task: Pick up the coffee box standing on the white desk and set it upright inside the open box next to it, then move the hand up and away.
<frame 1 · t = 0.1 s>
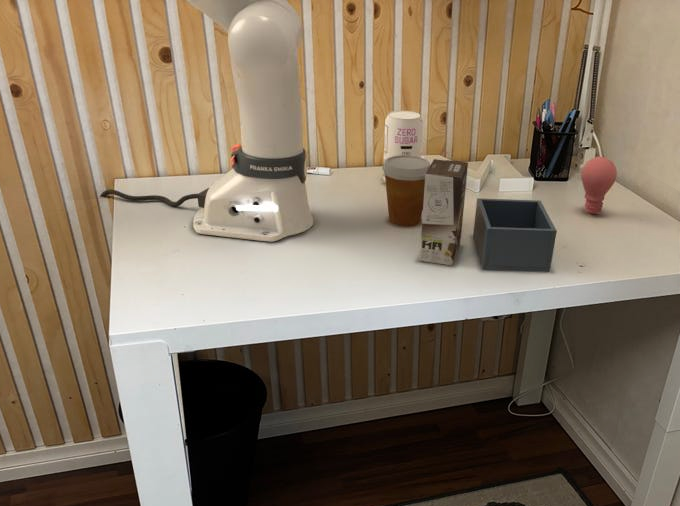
open box: (509, 253, 136), on the table
supplement can: (401, 183, 166), on the table
light bulb: (591, 214, 156), on the table
disposable coffee cup: (404, 222, 146), on the table
coffee box: (440, 254, 134), on the table
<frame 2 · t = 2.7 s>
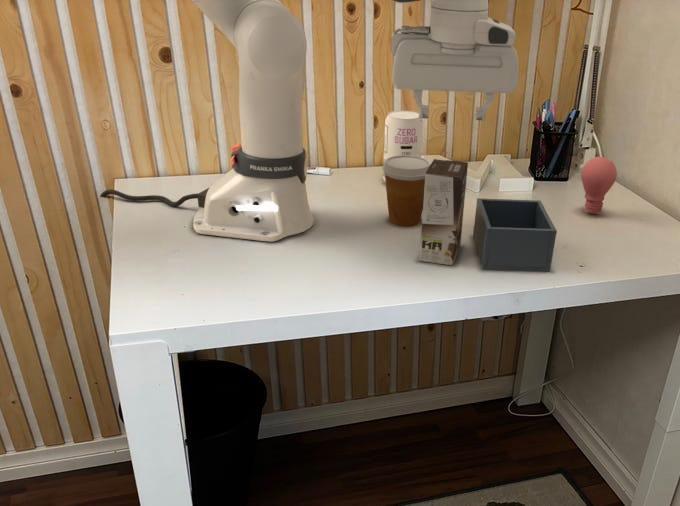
hand: (451, 118, 121), 24 cm above the table, tool pointing down, fingers open, 8 cm apart
nothing on the table moved.
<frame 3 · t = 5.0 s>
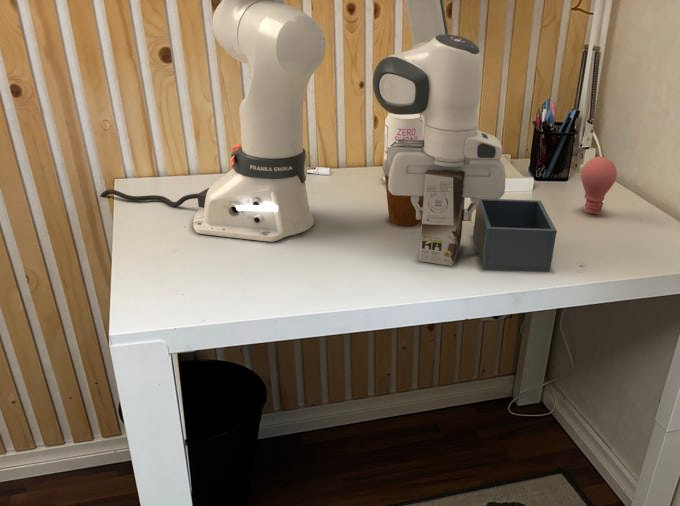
hand: (443, 219, 130), 7 cm above the table, tool pointing down, fingers closed on coffee box, 7 cm apart
coffee box: (440, 255, 134), on the table, touching gripper
everything else where it was.
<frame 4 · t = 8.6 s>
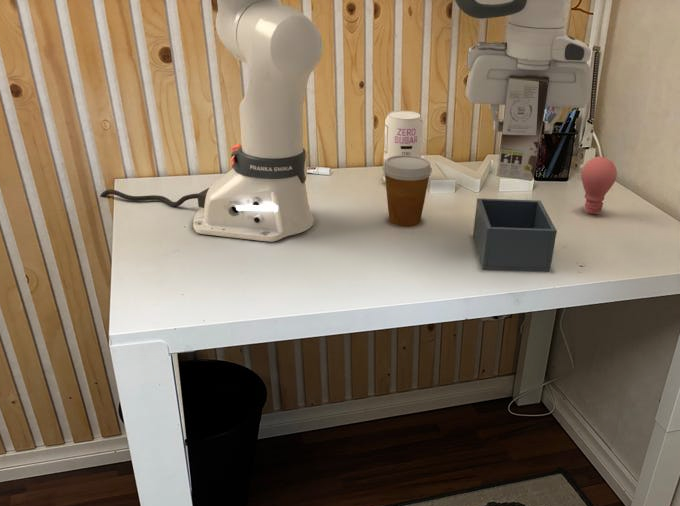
hand: (522, 132, 124), 22 cm above the table, tool pointing down, fingers closed on coffee box, 7 cm apart
coffee box: (516, 172, 127), point 15 cm above the table, touching gripper
everything else where it was.
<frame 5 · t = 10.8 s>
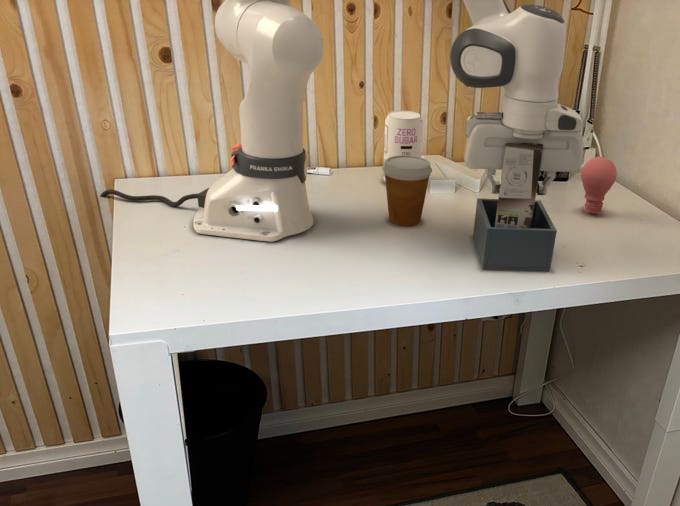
hand: (518, 193, 130), 11 cm above the table, tool pointing down, fingers closed on coffee box, 7 cm apart
coffee box: (512, 230, 134), point 5 cm above the table, touching gripper
everything else where it was.
when the fingers open (8 cm above the table, at t = 12.8 s): coffee box stays where it is, resting on open box.
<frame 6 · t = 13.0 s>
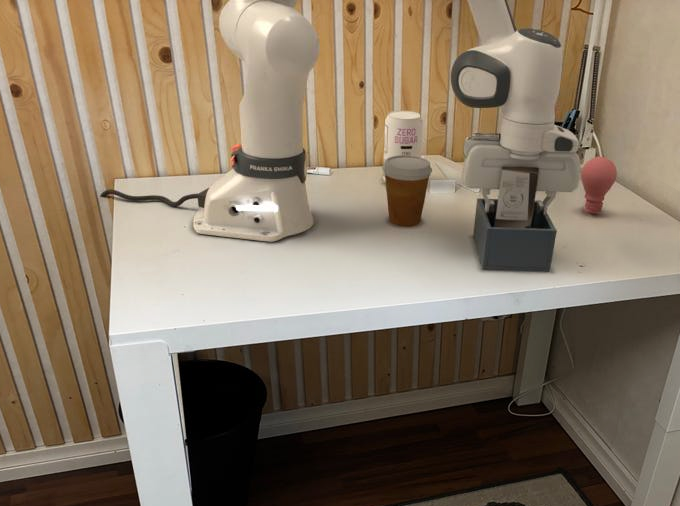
hand: (515, 212, 131), 8 cm above the table, tool pointing down, fingers open, 8 cm apart
coffee box: (509, 250, 136), point 1 cm above the table, touching open box
everything else where it was.
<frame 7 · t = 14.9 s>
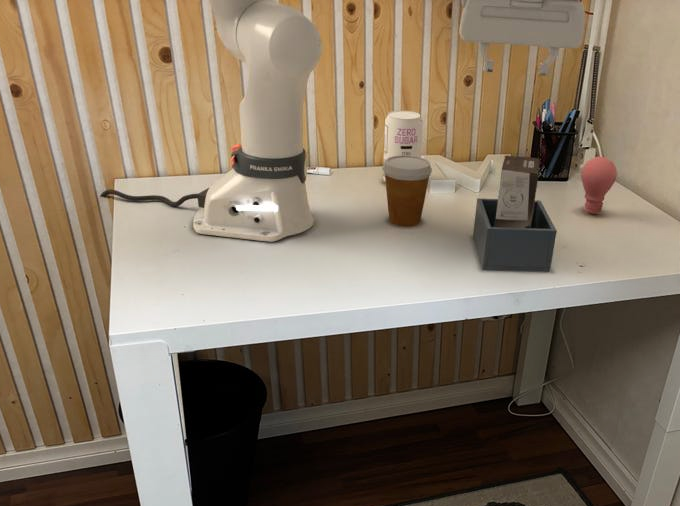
hand: (515, 73, 124), 31 cm above the table, tool pointing down, fingers open, 8 cm apart
nothing on the table moved.
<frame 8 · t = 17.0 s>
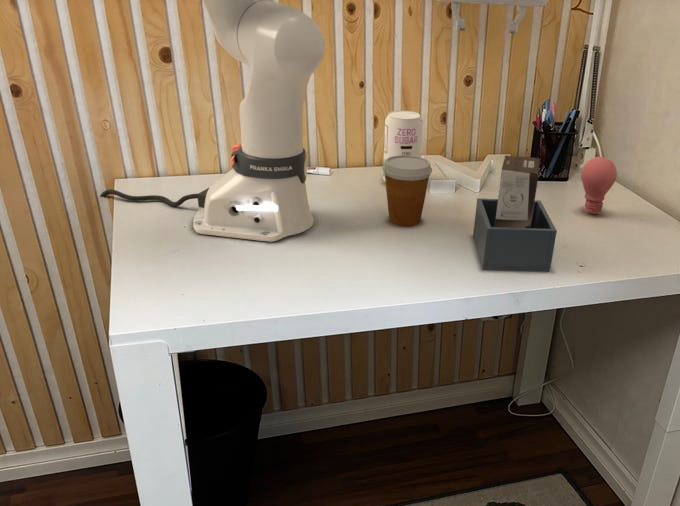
hand: (486, 32, 131), 35 cm above the table, tool pointing down, fingers open, 8 cm apart
nothing on the table moved.
at the end: coffee box inside the target area in the open box (0.2 cm from its centre), point 0.6 cm above the open box's base; coffee box tilted 0°; the gripper is holding nothing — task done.
